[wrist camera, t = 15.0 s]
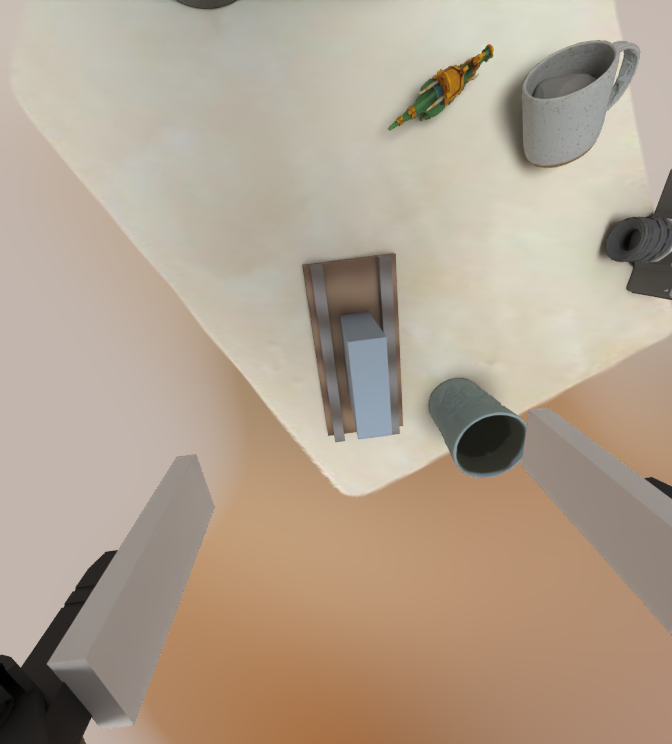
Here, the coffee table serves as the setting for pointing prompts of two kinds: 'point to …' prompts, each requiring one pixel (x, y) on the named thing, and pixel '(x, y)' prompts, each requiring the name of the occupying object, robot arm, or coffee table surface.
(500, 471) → the grey green cup
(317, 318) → the door track
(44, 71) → the coffee table surface
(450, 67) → the figurine
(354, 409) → the door panel
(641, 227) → the camera
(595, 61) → the ceramic mug
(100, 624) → the robot arm
